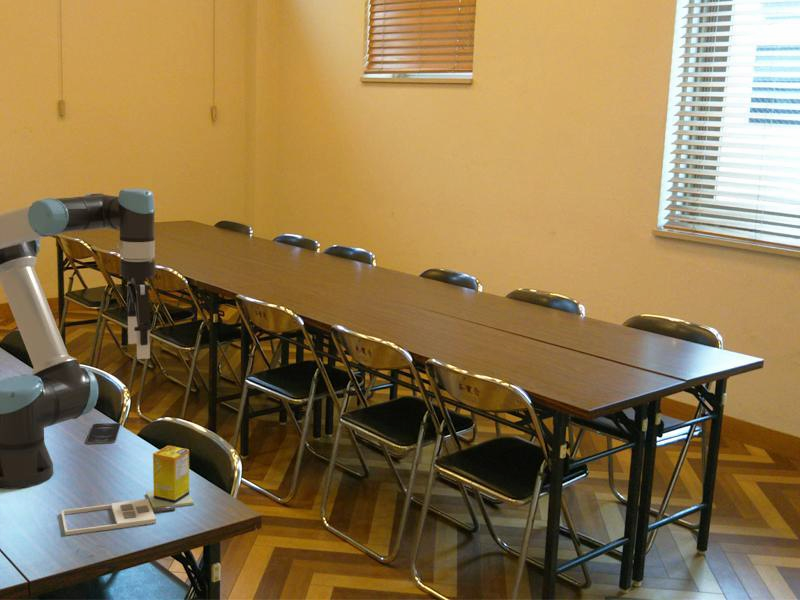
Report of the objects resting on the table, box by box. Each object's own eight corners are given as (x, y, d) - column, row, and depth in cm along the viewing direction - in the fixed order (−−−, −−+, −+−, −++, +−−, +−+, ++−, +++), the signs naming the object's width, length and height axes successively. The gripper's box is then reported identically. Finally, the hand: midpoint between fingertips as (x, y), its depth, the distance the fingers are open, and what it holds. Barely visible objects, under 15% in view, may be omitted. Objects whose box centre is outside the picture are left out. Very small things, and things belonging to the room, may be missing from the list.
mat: (146, 494, 219) (146, 491, 219) (185, 489, 223) (185, 486, 222) (153, 509, 211) (153, 507, 211) (193, 504, 215) (193, 502, 214)
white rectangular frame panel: (61, 513, 207) (60, 508, 207) (170, 500, 216) (170, 495, 216) (65, 535, 197) (65, 529, 197) (179, 519, 207) (179, 514, 206)
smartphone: (121, 423, 264) (115, 441, 250) (121, 426, 264) (115, 444, 250) (92, 423, 263) (85, 442, 248) (93, 426, 263) (85, 445, 248)
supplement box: (168, 489, 221) (167, 444, 218) (190, 494, 219) (190, 449, 216) (152, 498, 215) (152, 453, 213) (175, 503, 213) (174, 457, 211)
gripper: (112, 250, 222) (114, 338, 227) (128, 269, 200) (129, 366, 204) (145, 249, 225) (146, 336, 230) (164, 268, 203) (165, 363, 207)
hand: (138, 350), depth 217 cm, fingers open, 13 cm apart
